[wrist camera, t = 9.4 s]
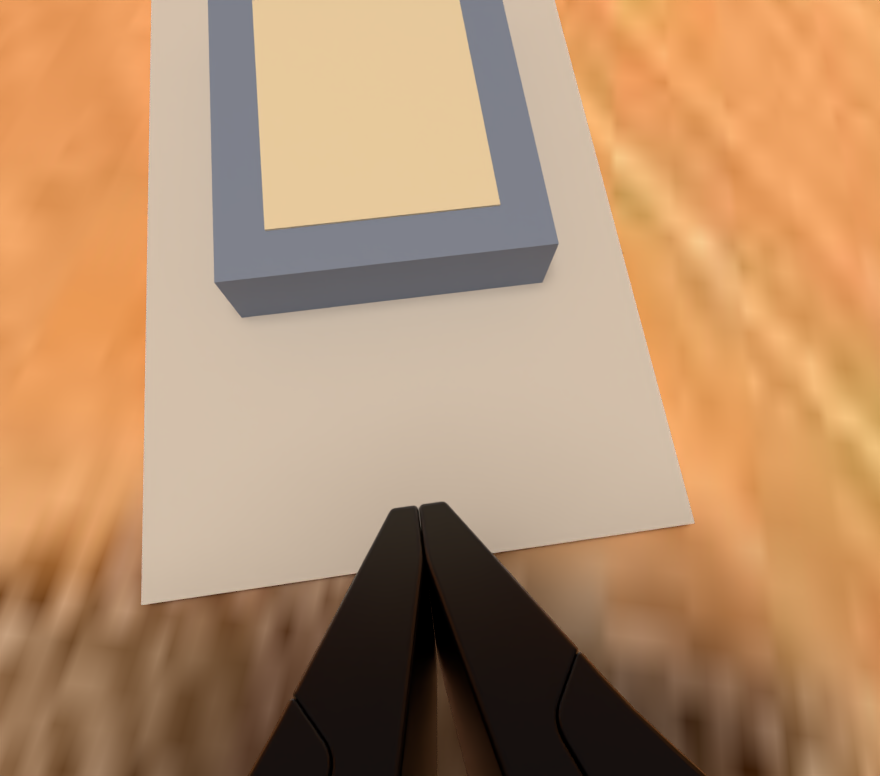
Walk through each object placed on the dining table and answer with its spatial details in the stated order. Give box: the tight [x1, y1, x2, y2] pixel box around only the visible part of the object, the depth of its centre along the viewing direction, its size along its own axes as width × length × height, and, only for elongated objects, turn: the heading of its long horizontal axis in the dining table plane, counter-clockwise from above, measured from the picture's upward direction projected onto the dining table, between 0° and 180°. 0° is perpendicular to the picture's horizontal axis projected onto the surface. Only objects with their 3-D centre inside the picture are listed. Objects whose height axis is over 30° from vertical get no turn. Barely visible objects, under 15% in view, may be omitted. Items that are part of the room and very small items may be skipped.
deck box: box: [208, 0, 559, 318], centre depth 19 cm, size 2×10×12 cm
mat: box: [141, 0, 695, 605], centre depth 19 cm, size 24×16×1 cm, turn 8°
